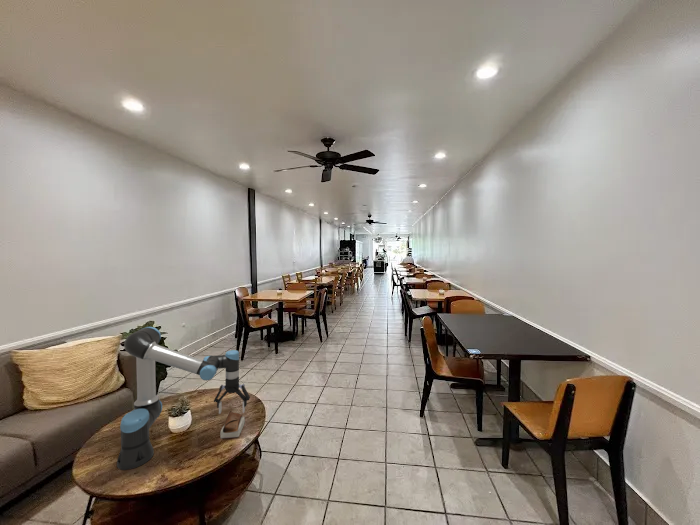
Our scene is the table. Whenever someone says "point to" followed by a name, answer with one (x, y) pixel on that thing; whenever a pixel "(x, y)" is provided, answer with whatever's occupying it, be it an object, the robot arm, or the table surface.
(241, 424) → the block
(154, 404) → the robot arm
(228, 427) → the sunglasses case
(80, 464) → the table surface
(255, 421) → the table surface
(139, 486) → the table surface
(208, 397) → the table surface
